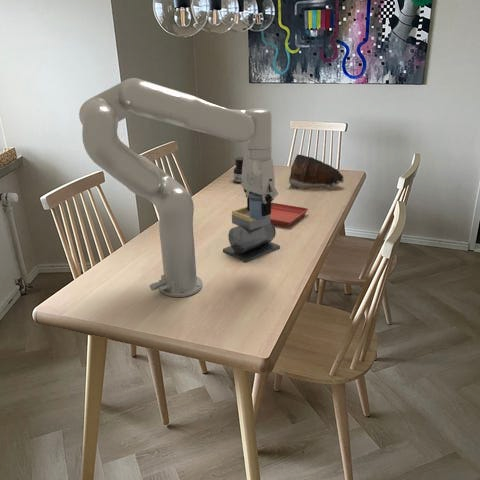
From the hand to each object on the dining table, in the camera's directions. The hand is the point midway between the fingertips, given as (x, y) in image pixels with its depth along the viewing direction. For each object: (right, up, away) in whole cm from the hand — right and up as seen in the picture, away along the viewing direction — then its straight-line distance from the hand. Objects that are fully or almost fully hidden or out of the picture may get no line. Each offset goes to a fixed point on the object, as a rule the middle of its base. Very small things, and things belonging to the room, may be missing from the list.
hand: (259, 211), depth 143 cm
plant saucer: (+10, 0, +50) cm, 51 cm away
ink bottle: (-4, +21, +99) cm, 101 cm away
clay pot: (+32, +17, +87) cm, 94 cm away
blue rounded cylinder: (0, -1, +1) cm, 1 cm away
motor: (-2, -12, +22) cm, 25 cm away
